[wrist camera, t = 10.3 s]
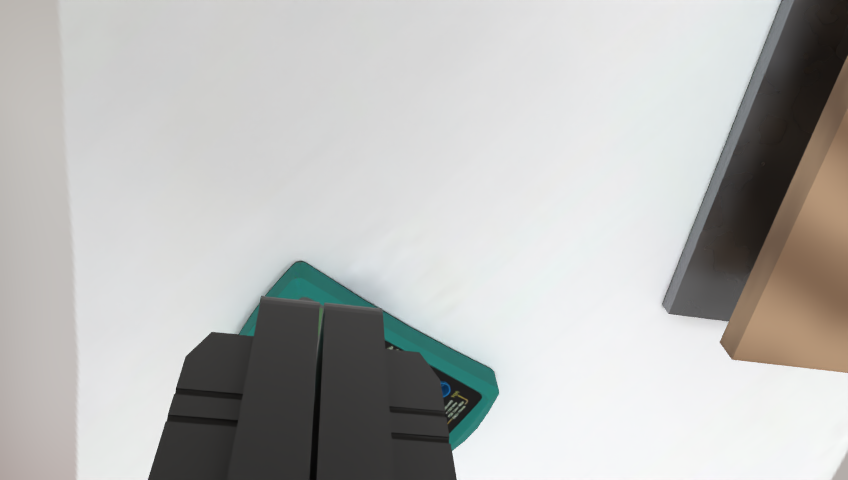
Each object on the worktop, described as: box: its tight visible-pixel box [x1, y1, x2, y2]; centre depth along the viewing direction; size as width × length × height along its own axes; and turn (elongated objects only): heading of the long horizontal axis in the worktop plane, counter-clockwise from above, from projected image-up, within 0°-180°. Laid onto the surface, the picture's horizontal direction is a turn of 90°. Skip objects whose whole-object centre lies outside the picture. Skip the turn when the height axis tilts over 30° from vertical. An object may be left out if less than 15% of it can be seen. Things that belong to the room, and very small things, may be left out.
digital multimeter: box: [239, 262, 499, 450], centre depth 45 cm, size 7×15×3 cm, turn 53°
